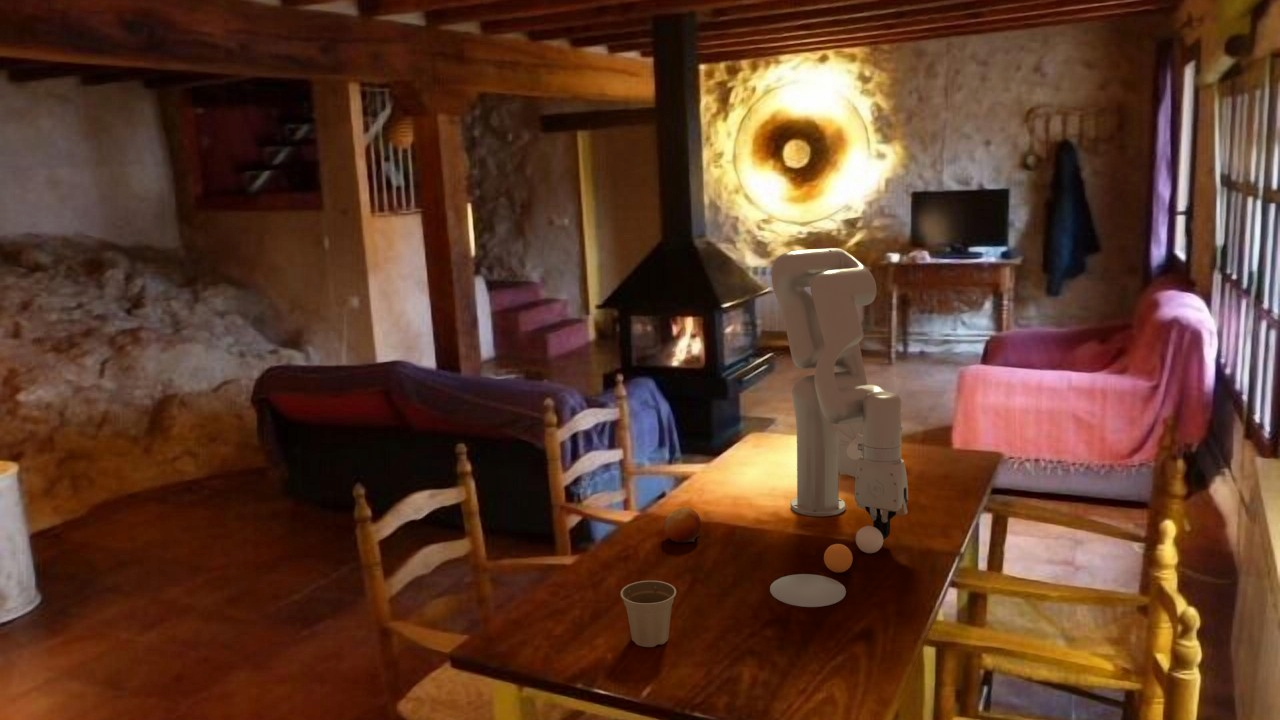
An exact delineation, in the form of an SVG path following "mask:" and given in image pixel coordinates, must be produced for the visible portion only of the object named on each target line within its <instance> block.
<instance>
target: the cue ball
mask: <svg viewBox="0 0 1280 720" xmlns="http://www.w3.org/2000/svg"><path fill="white" fill-rule="evenodd" d="M855 543H856V545H857V547H858V549H859V550H860V551H861V552H863V553H865V554H873V553H877V552H878V551H880V549H882V547H883V543H884V540H883V536H882V533H881V532H880V531H879V530H878V529H877V528H875V527H873V525H866V526H863V527H861V528H860V529H859V530H858V531H857V533H856V534H855Z"/></svg>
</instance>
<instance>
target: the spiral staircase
mask: <svg viewBox="0 0 1280 720" xmlns="http://www.w3.org/2000/svg"><path fill="white" fill-rule="evenodd" d="M901 416H903V412H902V411H901ZM833 425H834V426H835V427H836V429H837V431H838V435H839V475H841V476H844V475H848V476H850V477H852V478H855V479H856V472H857V466H858V461H859V458H860V457H862V456H863V455H862V451H861V450H858V449H857V446H858V444H862V443H863V421H860V422H853V423H846V424H833ZM903 428H904V425H902V424H901V433H902V432H903ZM902 443H903V441H902V440H901V444H902Z"/></svg>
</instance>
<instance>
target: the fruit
mask: <svg viewBox="0 0 1280 720" xmlns="http://www.w3.org/2000/svg"><path fill="white" fill-rule="evenodd" d="M701 525H702V524H701V517H700V515H699V513H698V512H697V511H695V510H694V509H693V508H692V507H687V506H686V507H684V506H683V507H679V508H677V509H675V510H673V511H672V512H671V513H669V514H667V516H666V518H665V520H664V524H663V527H664V533H665V536H666V537H667V538H668V539H670V540H671V541H672V542H674V543H676V544H685V543H689V542H693V543H695V541H696V538H697V536H698V537H700V535H699V532H700V529H701Z"/></svg>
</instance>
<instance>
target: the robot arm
mask: <svg viewBox="0 0 1280 720" xmlns="http://www.w3.org/2000/svg"><path fill="white" fill-rule="evenodd" d="M771 284H772V289H773V292H774V294H775V297H776V299H777V302H778V304H779V307H780V309H781V311H782V315H783V319H784V326H785V330H786V336H787V339H788V340H787V341H788V346H789V350H790V355H791V360H792V362H793V364H794V365H795V367H796V368H798V369H800V370H814V374H810V375H807V376H803V377H801V378H799V379H798V380H797V381H796V382H795V383H794V384H793V387H792V390H791V391H792V392H791V395H792V398H791V399H792V404H793V409H794V415H795V425H796V479H797V481H796V488H797V490H796V491H797V492H796V497H794V498H792V500H791V501H790V508H791V510H792V511H793V512H795V513H797V514H800V515H804V516H808V517H830V516H836V515H840V514H841V513H843V512H844V511H845V510H846V505H847V504H846V502H845V501H844V500H843V499H841V498H840V496H839V493H840V492H839V490H840V489H839V488H840V487H839V486H840V480H839V479H840V478H839V477H840V476H839V475H840V472H839V435H838V431H837V429H836V427H835V426H834V425H833V424H846V423H853V422H860V421H863V443H862V444H858V446H857V449H858V450H861V451H862V455H863V456H862V457H860V458H859V461H858V466H857V472H856V478H855V480H854V481H855V482H854V501H855V503H856V506H857V507H858V508H860V509H863V510H865V511H866V512H867V513H868V515H869V516H870V520H872V522H873V524H872V526H873V527H875V528H877V529H878V530H879V531H880V532H881V533H882V536H883V541H884V540H886V539H887V538H889V536H890V535H891V520H892V519H893V518H894V517H898V516H899V517H900V516H905V515H906V514H908V508H907V505H908V502H909V486H908V475H907V470H906V465H905V461H904V459H902V443H901V441H902V432H901V425H902V415H901V412H902V399H901V397H900V395H898V394H897V393H894V392H892V391H891V392H890V391H887V390H885V389H884V388H883V387H881V385H878V384H868V382H867V381H868V380H867V377H866V376H867V375H866V370H865V366H864V362H863V355H862V350H861V346H860V342H861V341H862V340H863V339H864V331H863V327H862V324H861V323H862V322H861V320H860V316H859V311H858V308H857V307H862V306H868V305H870V304H872V303H873V302H874V301H875V299H876V297H877V284H876V280H875V278H874V276H873V274H872V272H870V269H869V268H867V267H866V266H865V265H864V264H863V263H862V262H860V261H859V260H858V259H857V258H856V257H855V256H853V255H852V254H850V253H849V252H848V251H846V250H845V249H842V248H837V247H835V248H834V247H829V248H813V249H812V248H811V249H799V250H792V251H788V252H784V253H783V254H780V255H779V256H778V257H777V258H775V260H774V262H773V264H772V268H771ZM806 288H810V293H809V292H808V291H807V290H806ZM835 371H836V372H835Z"/></svg>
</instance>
